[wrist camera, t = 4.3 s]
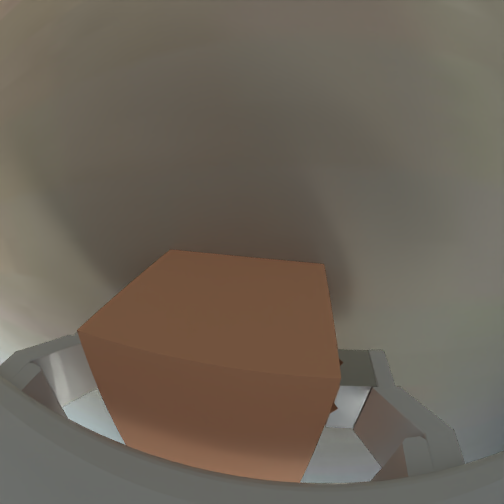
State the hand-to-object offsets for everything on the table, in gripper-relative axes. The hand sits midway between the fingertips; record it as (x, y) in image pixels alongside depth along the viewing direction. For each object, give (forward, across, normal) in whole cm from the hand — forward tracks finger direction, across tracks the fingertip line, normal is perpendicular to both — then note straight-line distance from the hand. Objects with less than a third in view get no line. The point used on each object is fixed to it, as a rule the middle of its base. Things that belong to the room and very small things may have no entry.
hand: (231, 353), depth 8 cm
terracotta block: (+2, 0, 0) cm, 2 cm away
